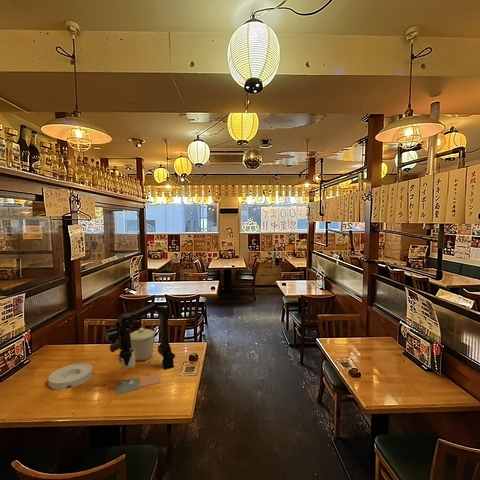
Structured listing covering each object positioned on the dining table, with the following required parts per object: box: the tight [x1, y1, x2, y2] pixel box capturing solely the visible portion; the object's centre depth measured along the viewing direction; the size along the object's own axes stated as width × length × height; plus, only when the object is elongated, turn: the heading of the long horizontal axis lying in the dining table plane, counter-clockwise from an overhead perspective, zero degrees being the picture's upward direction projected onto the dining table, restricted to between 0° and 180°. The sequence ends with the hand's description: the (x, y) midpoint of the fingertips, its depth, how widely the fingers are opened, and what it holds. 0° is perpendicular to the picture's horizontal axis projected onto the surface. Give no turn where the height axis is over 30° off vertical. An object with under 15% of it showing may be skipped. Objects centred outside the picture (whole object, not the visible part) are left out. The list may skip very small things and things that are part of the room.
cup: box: [117, 348, 136, 370], centre depth 168 cm, size 7×10×9 cm
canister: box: [130, 327, 156, 362], centre depth 200 cm, size 18×18×21 cm
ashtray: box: [47, 362, 93, 390], centre depth 174 cm, size 23×23×4 cm
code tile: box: [115, 376, 140, 396], centre depth 165 cm, size 12×14×1 cm
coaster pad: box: [139, 373, 161, 388], centre depth 170 cm, size 11×10×1 cm
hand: (126, 362), depth 167 cm, fingers closed on cup, 7 cm apart
